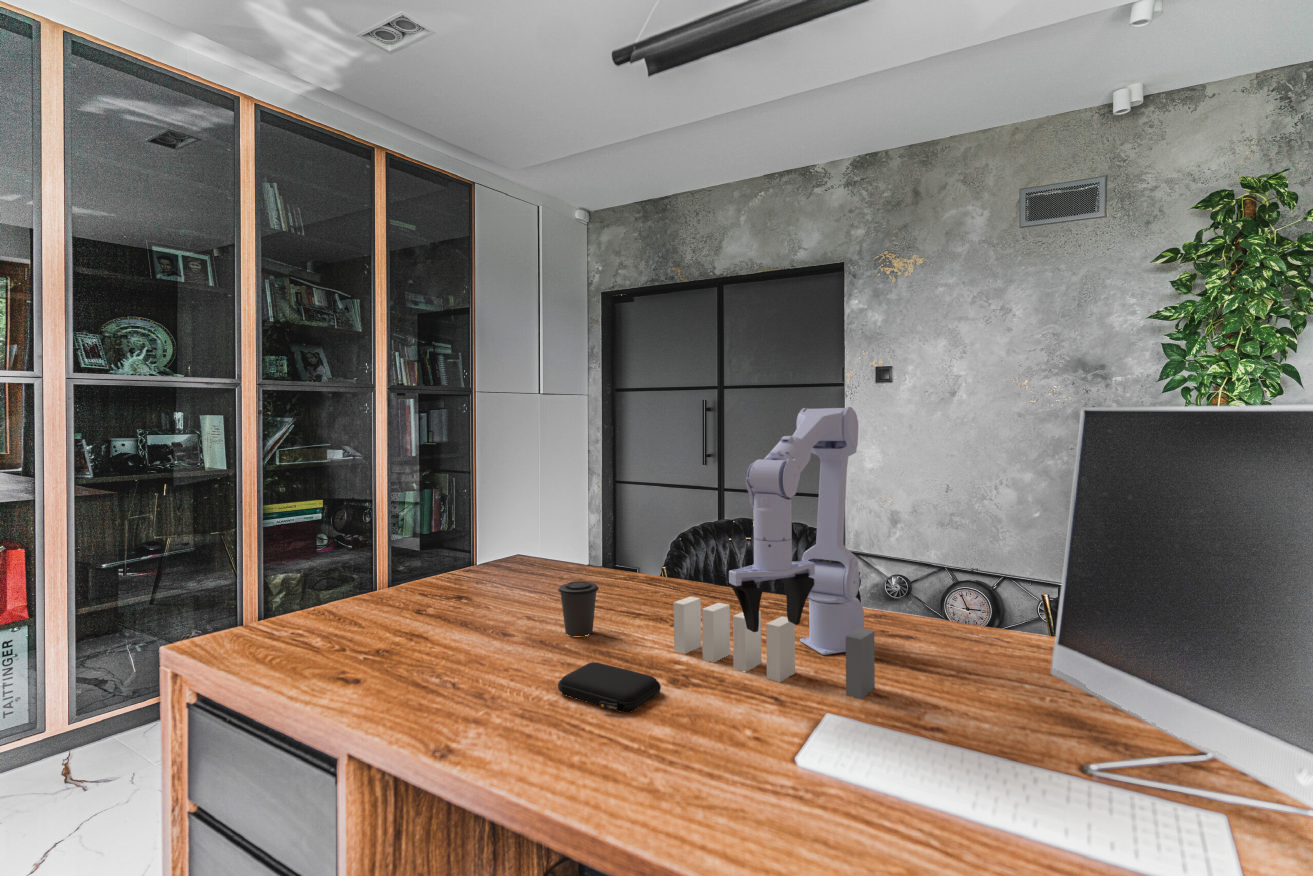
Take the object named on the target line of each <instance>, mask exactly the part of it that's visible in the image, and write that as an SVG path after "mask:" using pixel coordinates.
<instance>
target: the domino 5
mask: <svg viewBox="0 0 1313 876" xmlns="http://www.w3.org/2000/svg"><path fill="white" fill-rule="evenodd" d="M875 671H876V669H875V630H870V629H867V628H864V629H862V628H858V629H857V630H855V631H854V632H852V633H850V634H849V635H847V636H846V652H845V695H846V696H848V695H850V696H849V697H851V696H853V697H852V698H855V699H858V698H859V700H863V699H864V698H865V697H866V696H867V695H869V694H870V693H871V692H873V691H874V690H875V687H876V686H875V684H876V683H875V677H876V675H875V673H876V672H875ZM873 689H874V690H873ZM869 692H870V693H869ZM868 693H869V694H868ZM864 696H865V697H864ZM863 697H864V698H863ZM862 698H863V699H862Z"/></svg>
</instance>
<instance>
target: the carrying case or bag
mask: <svg viewBox="0 0 1313 876" xmlns="http://www.w3.org/2000/svg"><path fill="white" fill-rule="evenodd" d="M661 688H662V687H661V683H660V682H659V681H658V679H657V678H656V677H654V676H652V675H649V674H646V673H642V672H641V673H640V672H637V671H633V670H629V669H626V668H621V667H618V666H613V665H609V664H604V663H600V662H595V661H594V662H593V661H592V662H589V663H586V664H584V665H582V666H581V667H579V668H577V669H575V670H573V671H571V672H570V673H568V674H565V675H564V676H562V678H561V679H560V680H559V681H558V684H557V689H558V691H560V693H561V694H562V695H564V696H565V695H567V696H566V697H568V696H571V697H573V699H575V698H577V699H576V700H578V699H580V700H579V701H581V700H583V701H582V702H585V701H587V702H586V703H588V702H590V703H589V704H591V703H593V704H592V705H595V704H596V705H595V706H598V705H599V707H600V708H601V709H602V710H612V709H613V711H616V710H617V712H619V711H621V712H620V713H625V712H628V713H632V712H634V711H636V710H637V709H639V708H641V705H642V706H643V705H644V704H646V703H648V702H649V701H650V700H651V698H652V699H653V698H655V697H656V696H657V694H659V692H660V691H661V690H662V689H661ZM655 695H656V696H655ZM654 696H655V697H654ZM571 697H570V698H571ZM648 700H649V701H648ZM645 702H646V703H645ZM638 707H639V708H638ZM635 709H636V710H635ZM631 711H632V712H631Z"/></svg>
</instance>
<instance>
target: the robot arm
mask: <svg viewBox="0 0 1313 876" xmlns="http://www.w3.org/2000/svg"><path fill="white" fill-rule="evenodd" d="M858 440H859V419H858V416H857V412H856V411H855V410H854V408H853V407H851V406H847V407H831V408H830V407H827V408H824V407H823V408H808V407H803V408H801V410H800V411H799V412H798V413H797V418H796V430H795V431H794V432H793V434H792V435H784V436H782V437H781V438H780V440H779V441H778V443H777V444H775V446H774V447H773V448H772V450H770V452H768V454H766V456H765V457H764V458H763V459H760V458H759V459H756V460H754V462H751V463H750V464H749V467H748V469H747V472H746V478H745V486H746V489H747V492H748V495H749V505H750V507H751V508H752V509H753V511H752V512H753V564H752V565H747V566H744V567H740V568H737V569H736V568H735V569H731V570H729V571H728V583H729V584H730V585H731V590H732V591H733V592H734V593H735V596H736V597H737V600H738V602H739V605H740V607H741V610H742V612H743V614H744V618H745V622H746V626H747V629H749V630H750V631H752V632H758V628H759V611H760V606H761V599H762V595H763V592H764V589H762V588H760V587H757V585H758V584H756V583H757V582H764V581H772V580H779V579H782V582H783V585H784V591H785V596H786V597H785V598H786V617H787V618H788V621H789V622H791V623H793V624H795V626H797V625H800V622H801V619H802V614H803V611H804V607H805V604H806V601H807V599H808V611H809V612H808V617H809V618H808V623H809V627H808V630H809V631H808V632H809V635H808V637H807V636H806V637H802V638H799V642H801V643H802V644H804V645H806V646H808V647H809V648H810V649H812V650H814V651H816V652H817V653H819V654H821V655H824V656H827V655H832V654H840V653H846V636H847V635H849V634H850V633H852V632H854V631H855V630H857V629H858V628H862V629H865V612H864V609H863V605H862V603H861V601H860V600H859V599H858V597H857V595H858V592H859V589H860V572H859V561H858V557H856V555H855V554H854V553H852V552H851V551H850V550H849V549H848V548H847V547H846V546H845V545H844V538H845V537H844V533H845V515H846V513H845V511H846V492H847V477H848V476H847V475H848V474H847V473H848V462H849V457H850V456H852V455H854V454H856V453H857V447H858V443H859V441H858ZM812 454H814V455H816V456H817V457H818V459H819V460H820V467H819V468H820V469H819V485H818V486H819V487H818V501H817V502H818V504H817V519H816V520H817V521H816V522H817V524H816V538H815V539H816V540H815V541H816V542H815V544H814V545H813V546H811V547H809V548H808V549H807V550H806V551H804V552H803V553H802V558H801V560H800V561H798V560H797V561H793V557H792V556H793V552H792V550H793V549H792V548H793V547H792V545H793V544H792V543H793V542H792V541H793V539H792V536H793V535H792V534H793V533H792V531H793V529H792V528H793V527H792V520H793V519H792V498H793V497H794V496H796V494H797V491H798V486H799V482H800V478H801V473H802V472H803V470H804V469H805V467H807V465H808V463H809V462H810V460H811V458H812V457H811V456H812ZM819 560H827V561H828V562H827V561H819ZM829 561H832V562H829ZM833 561H835V562H836V563H835V562H833ZM837 562H838V563H837ZM839 562H840V563H839Z"/></svg>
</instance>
